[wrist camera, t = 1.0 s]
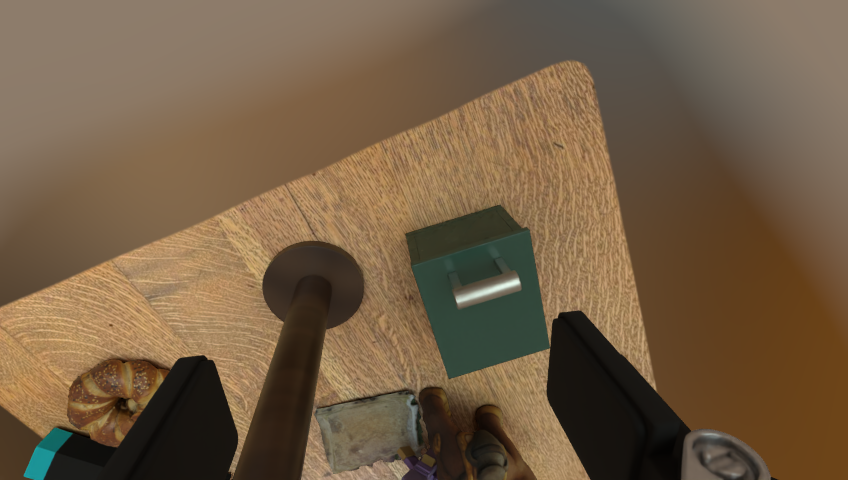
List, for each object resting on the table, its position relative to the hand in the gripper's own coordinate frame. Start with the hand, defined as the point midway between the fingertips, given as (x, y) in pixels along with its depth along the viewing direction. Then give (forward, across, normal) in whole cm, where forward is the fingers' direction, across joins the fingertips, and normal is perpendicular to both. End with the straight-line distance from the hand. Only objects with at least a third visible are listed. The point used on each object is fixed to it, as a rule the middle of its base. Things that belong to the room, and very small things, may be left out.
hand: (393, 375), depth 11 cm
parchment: (+28, +4, +34) cm, 45 cm away
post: (+29, +8, +12) cm, 32 cm away
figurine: (+29, -8, +33) cm, 45 cm away
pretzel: (+29, +29, +23) cm, 47 cm away
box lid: (+21, -8, +12) cm, 25 cm away
